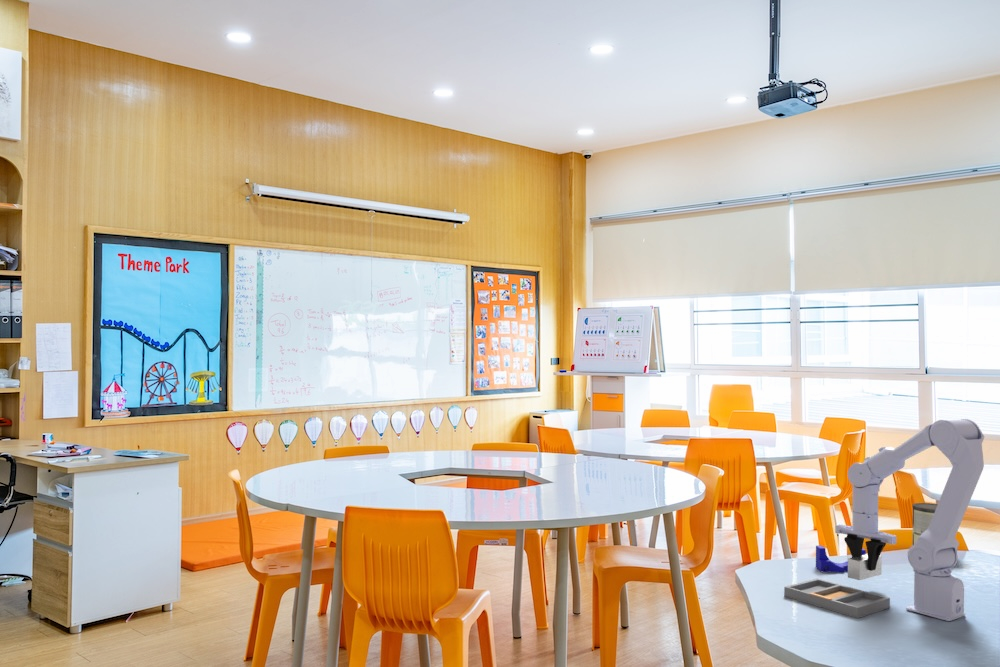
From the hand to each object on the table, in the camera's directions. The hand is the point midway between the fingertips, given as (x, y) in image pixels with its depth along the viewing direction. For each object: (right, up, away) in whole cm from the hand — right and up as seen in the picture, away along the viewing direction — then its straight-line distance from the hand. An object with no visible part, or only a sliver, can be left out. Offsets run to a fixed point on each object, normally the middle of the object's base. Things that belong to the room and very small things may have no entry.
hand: (864, 568), depth 193 cm
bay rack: (-11, -5, -9) cm, 15 cm away
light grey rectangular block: (0, -2, 0) cm, 2 cm away
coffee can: (+38, -8, +40) cm, 56 cm away
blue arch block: (+3, -7, +19) cm, 20 cm away
